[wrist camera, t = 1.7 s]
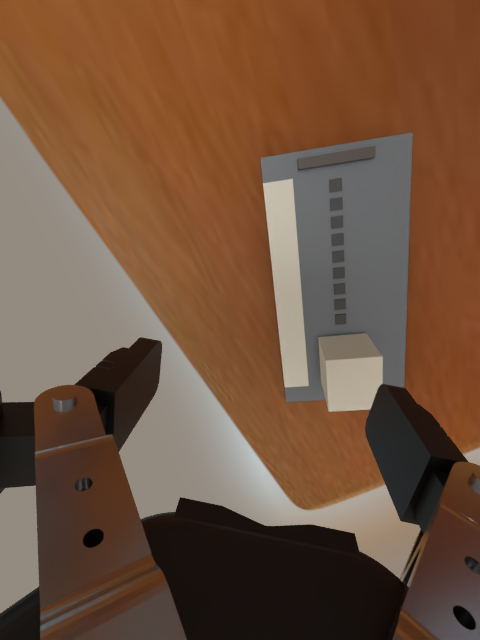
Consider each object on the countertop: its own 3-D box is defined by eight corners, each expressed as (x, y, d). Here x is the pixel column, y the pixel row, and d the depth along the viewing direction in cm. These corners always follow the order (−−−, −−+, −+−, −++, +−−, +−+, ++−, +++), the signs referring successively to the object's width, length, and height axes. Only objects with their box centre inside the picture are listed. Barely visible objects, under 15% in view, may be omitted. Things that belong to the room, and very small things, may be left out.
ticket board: (405, 136, 26) (416, 129, 24) (398, 387, 34) (406, 399, 32) (261, 160, 28) (259, 156, 26) (285, 394, 36) (286, 406, 34)
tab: (366, 333, 30) (382, 356, 26) (366, 379, 32) (382, 408, 27) (318, 337, 31) (325, 360, 26) (321, 382, 33) (328, 411, 28)
